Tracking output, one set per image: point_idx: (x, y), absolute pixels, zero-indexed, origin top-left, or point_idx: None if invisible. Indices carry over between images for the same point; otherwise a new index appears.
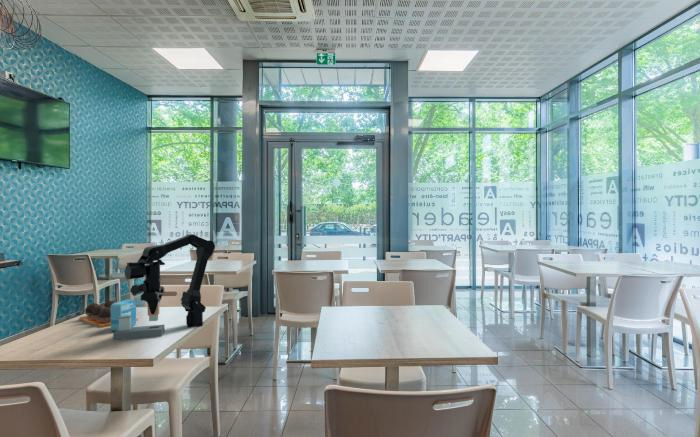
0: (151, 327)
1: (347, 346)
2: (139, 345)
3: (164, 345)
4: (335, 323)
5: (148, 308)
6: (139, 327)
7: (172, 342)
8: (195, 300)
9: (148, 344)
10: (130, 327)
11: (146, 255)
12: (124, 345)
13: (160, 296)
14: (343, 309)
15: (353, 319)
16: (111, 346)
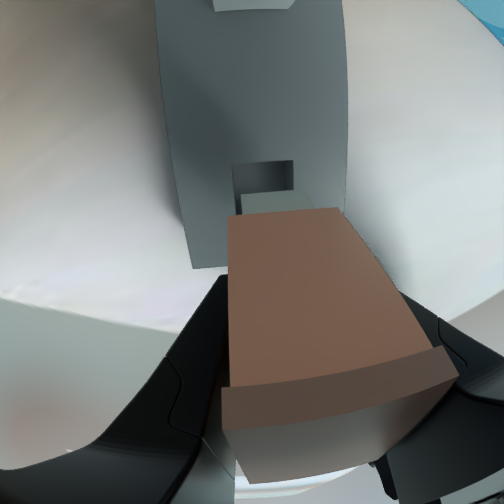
0: (292, 172)
1: None
2: (29, 181)
3: (45, 293)
4: (243, 479)
5: (231, 301)
6: (307, 70)
7: (84, 313)
8: (372, 465)
9: (45, 221)
10: (252, 4)
11: None
12: (33, 92)
13: (404, 498)
14: (335, 471)
15: (261, 483)
16: (32, 29)
